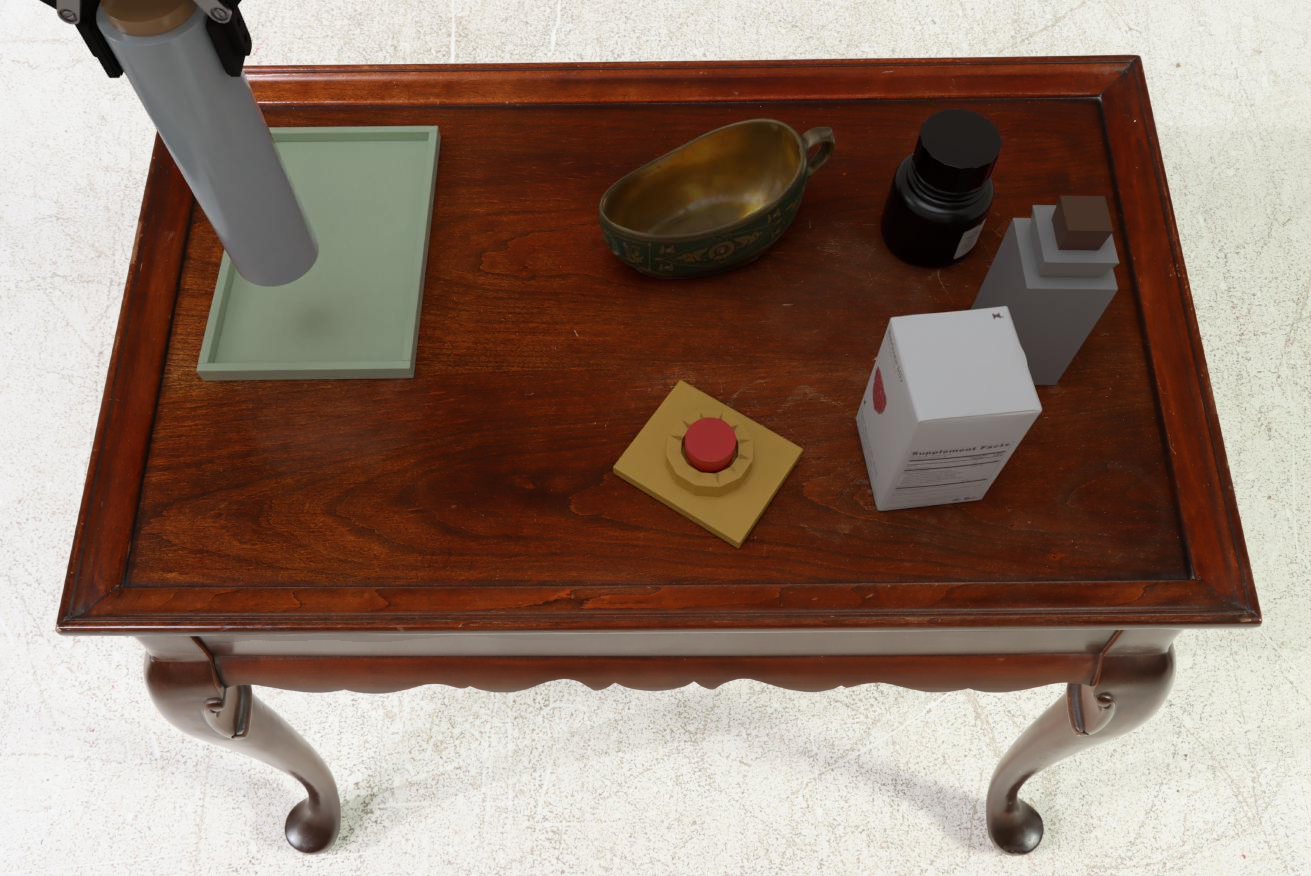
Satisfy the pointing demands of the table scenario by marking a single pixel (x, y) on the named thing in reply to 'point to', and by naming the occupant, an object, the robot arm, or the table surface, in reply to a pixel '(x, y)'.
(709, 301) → the table surface
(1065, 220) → the perfume bottle
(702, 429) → the button
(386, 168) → the tray
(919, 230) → the ink bottle
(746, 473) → the block
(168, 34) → the grey cylinder
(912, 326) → the white product box
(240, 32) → the robot arm
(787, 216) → the cup
